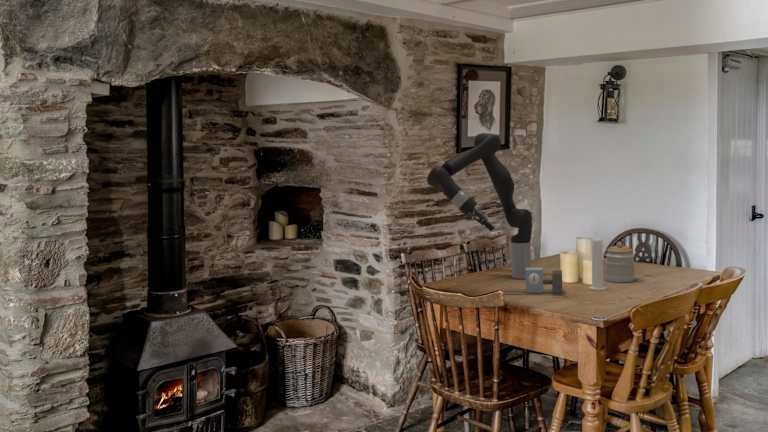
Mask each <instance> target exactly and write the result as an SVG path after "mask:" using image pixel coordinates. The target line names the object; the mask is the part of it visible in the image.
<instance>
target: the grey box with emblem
mask: <svg viewBox="0 0 768 432" xmlns="http://www.w3.org/2000/svg"><path fill="white" fill-rule="evenodd" d="M544 285H552V279H544V267H531V268H526V279H525V289H526V293H543V289H544Z"/></svg>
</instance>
